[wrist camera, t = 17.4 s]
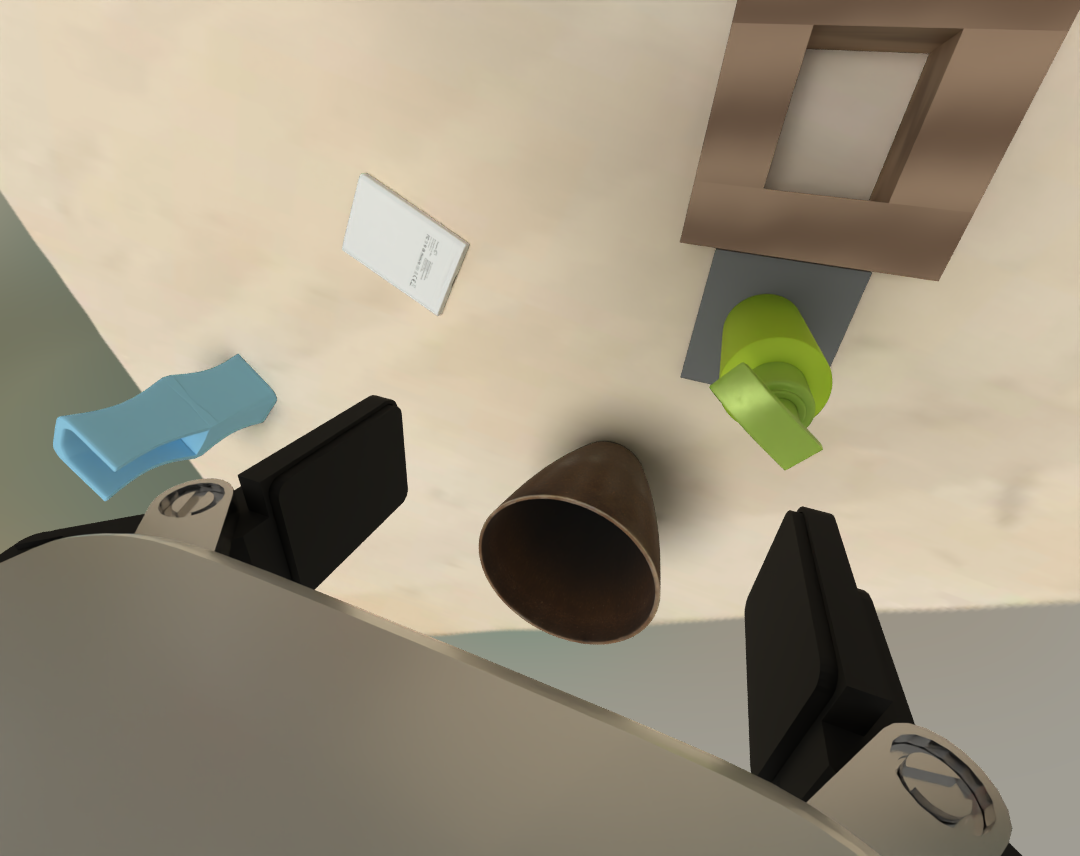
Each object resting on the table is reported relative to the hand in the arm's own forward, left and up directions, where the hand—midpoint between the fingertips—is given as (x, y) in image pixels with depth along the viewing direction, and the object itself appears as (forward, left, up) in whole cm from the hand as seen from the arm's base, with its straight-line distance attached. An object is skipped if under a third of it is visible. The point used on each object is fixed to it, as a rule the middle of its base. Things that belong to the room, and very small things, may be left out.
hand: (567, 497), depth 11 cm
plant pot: (+21, -3, -33) cm, 39 cm away
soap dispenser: (+2, +6, -32) cm, 33 cm away
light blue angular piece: (+25, -55, -33) cm, 69 cm away
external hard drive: (+1, -28, -34) cm, 44 cm away
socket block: (-11, +7, -33) cm, 35 cm away
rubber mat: (+3, +7, -33) cm, 34 cm away
